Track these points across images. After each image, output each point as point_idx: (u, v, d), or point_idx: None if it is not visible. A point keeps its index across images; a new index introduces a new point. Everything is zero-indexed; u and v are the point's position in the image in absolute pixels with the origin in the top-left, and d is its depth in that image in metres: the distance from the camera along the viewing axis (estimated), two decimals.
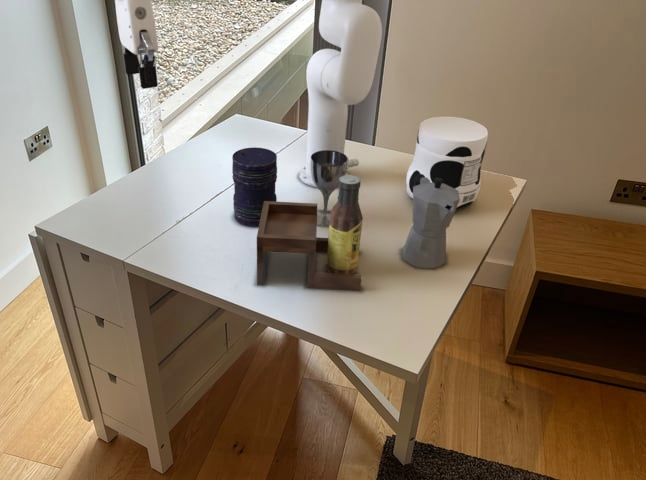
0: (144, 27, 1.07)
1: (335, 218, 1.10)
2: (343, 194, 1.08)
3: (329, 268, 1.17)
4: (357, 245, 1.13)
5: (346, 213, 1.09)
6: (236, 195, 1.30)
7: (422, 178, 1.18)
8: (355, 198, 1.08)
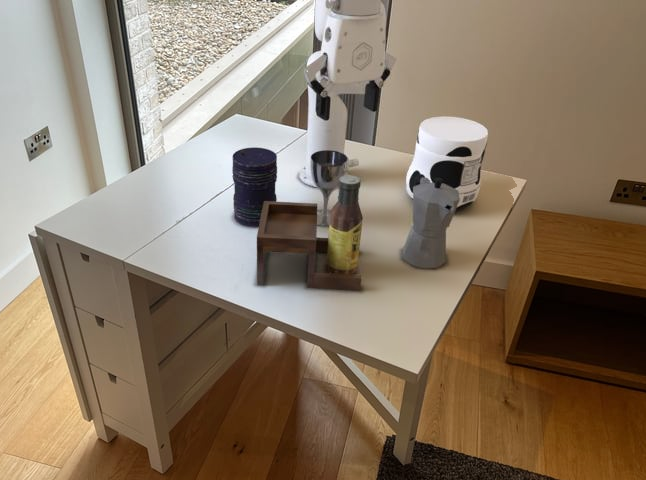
0: (326, 51, 0.92)
1: (335, 218, 1.10)
2: (343, 194, 1.08)
3: (329, 268, 1.17)
4: (357, 245, 1.13)
5: (346, 213, 1.09)
6: (236, 195, 1.30)
7: (422, 178, 1.18)
8: (355, 198, 1.08)
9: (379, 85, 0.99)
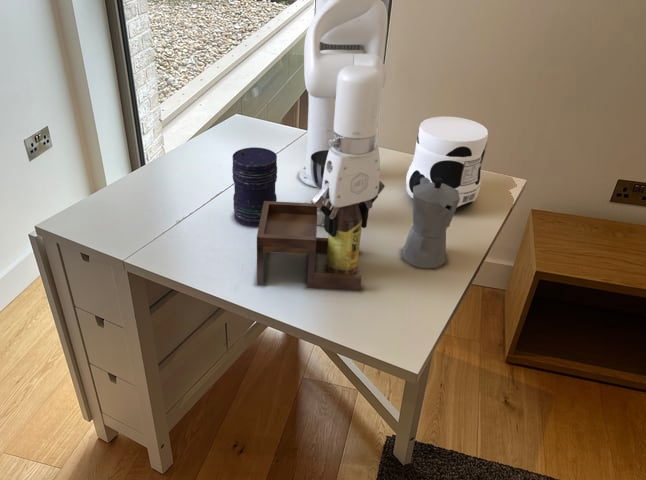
0: (328, 179, 1.04)
1: None
2: None
3: (329, 268, 1.17)
4: (357, 245, 1.13)
5: (345, 214, 1.09)
6: (236, 195, 1.30)
7: (422, 178, 1.18)
8: None
9: (368, 207, 1.11)
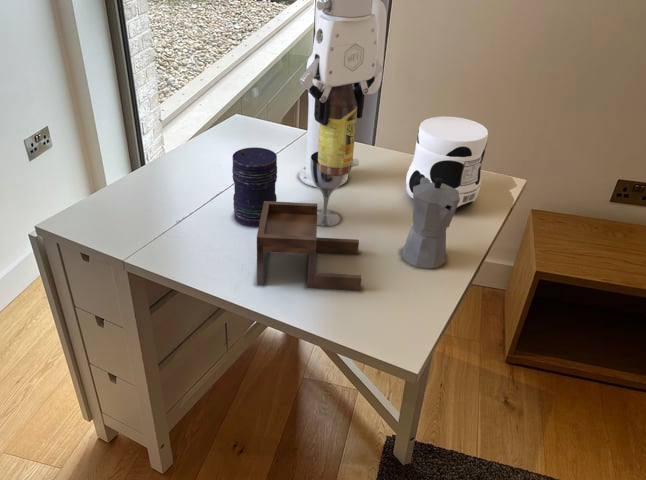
0: (318, 52, 0.92)
1: None
2: None
3: (321, 167, 1.05)
4: (352, 137, 1.01)
5: (339, 97, 0.96)
6: (236, 195, 1.30)
7: (422, 178, 1.18)
8: None
9: (364, 92, 0.99)
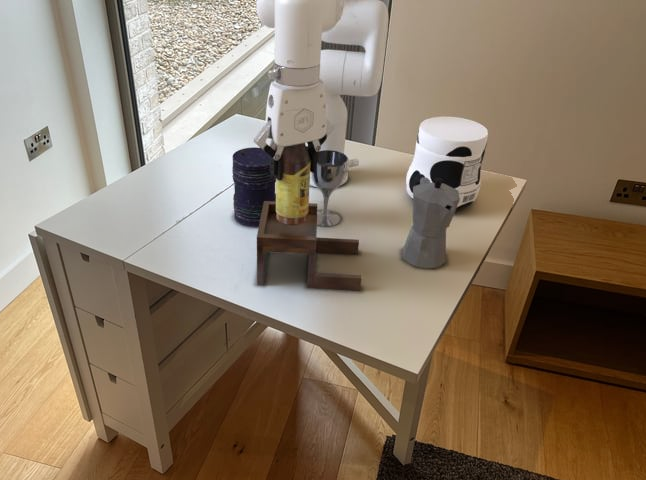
0: (270, 116, 0.98)
1: None
2: None
3: (278, 217, 1.11)
4: (306, 190, 1.07)
5: (291, 155, 1.03)
6: (236, 195, 1.30)
7: (422, 178, 1.18)
8: None
9: (316, 149, 1.05)
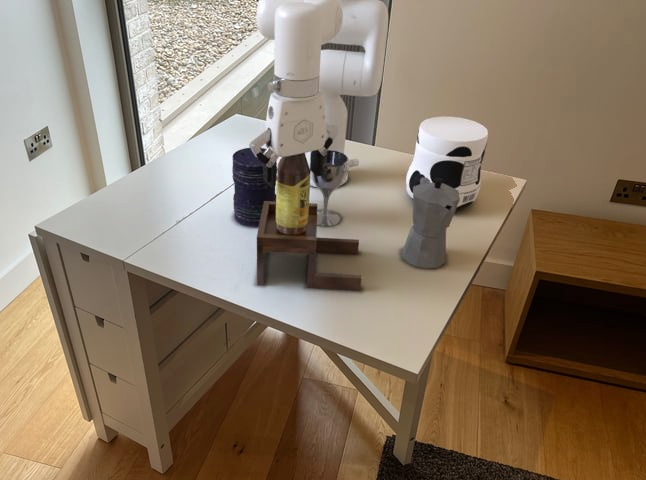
0: (270, 127, 0.99)
1: (281, 171, 1.05)
2: None
3: (278, 227, 1.12)
4: (305, 201, 1.09)
5: (292, 166, 1.04)
6: (236, 195, 1.30)
7: (422, 178, 1.18)
8: None
9: (322, 153, 1.06)
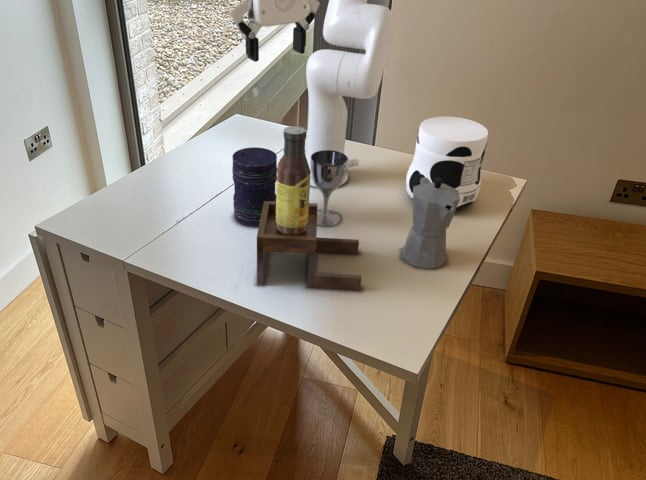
0: None
1: (281, 171, 1.05)
2: (288, 145, 1.03)
3: (278, 227, 1.12)
4: (305, 201, 1.09)
5: (292, 166, 1.04)
6: (236, 195, 1.30)
7: (422, 178, 1.18)
8: (301, 149, 1.04)
9: (305, 28, 1.06)
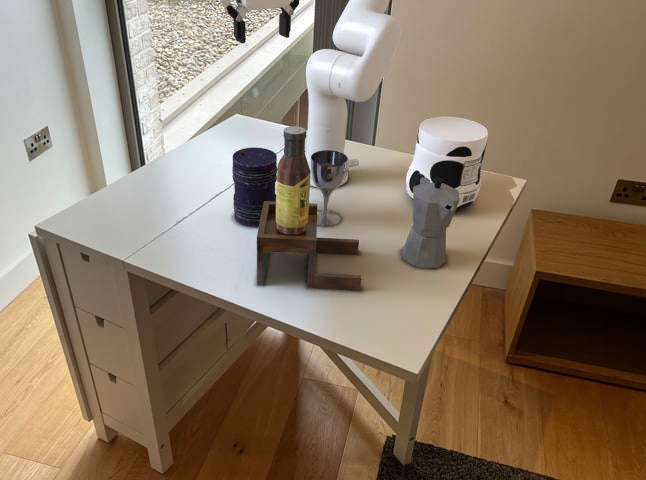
0: None
1: (281, 171, 1.05)
2: (288, 145, 1.03)
3: (278, 227, 1.12)
4: (305, 201, 1.09)
5: (292, 166, 1.04)
6: (236, 195, 1.30)
7: (422, 178, 1.18)
8: (301, 149, 1.04)
9: (289, 13, 1.14)
